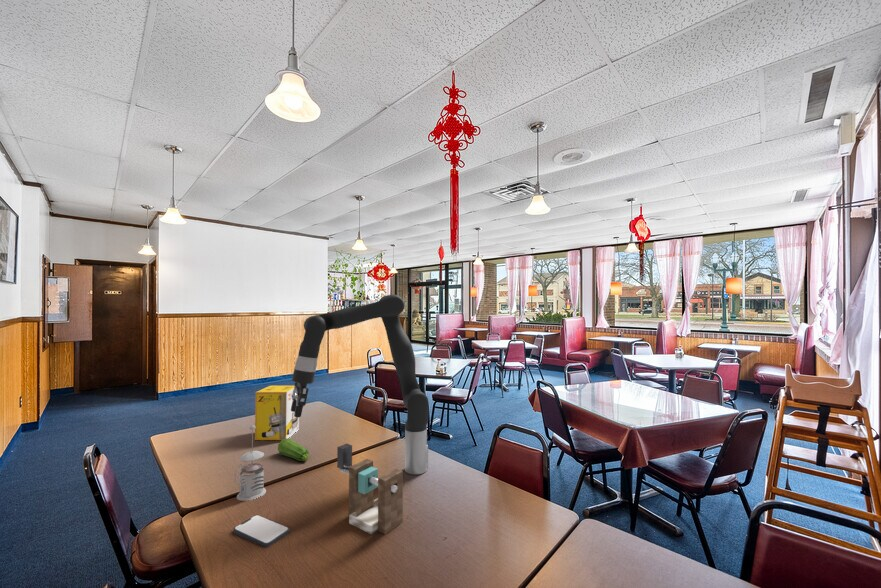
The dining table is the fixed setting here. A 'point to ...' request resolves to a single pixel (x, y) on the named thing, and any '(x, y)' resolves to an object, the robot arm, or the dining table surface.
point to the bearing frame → (375, 501)
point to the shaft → (346, 461)
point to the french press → (247, 489)
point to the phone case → (261, 530)
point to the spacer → (366, 480)
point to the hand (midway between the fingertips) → (295, 414)
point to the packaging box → (275, 413)
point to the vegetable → (293, 450)
